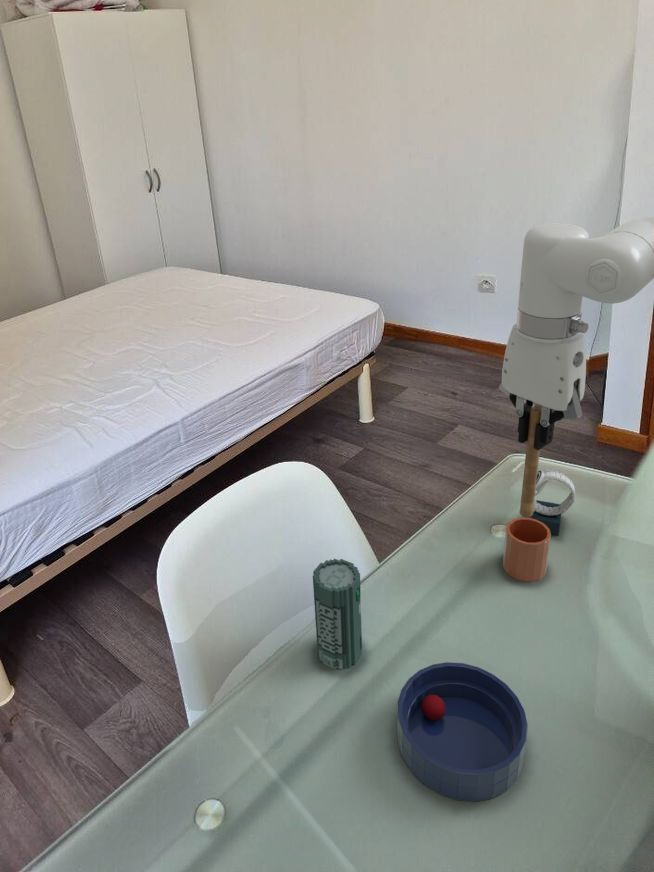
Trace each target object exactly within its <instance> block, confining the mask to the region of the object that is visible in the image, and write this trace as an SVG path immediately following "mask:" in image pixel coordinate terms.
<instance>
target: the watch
mask: <svg viewBox="0 0 654 872" xmlns="http://www.w3.org/2000/svg"><path fill="white" fill-rule="evenodd" d="M550 480H554V481H558V482H560V483H562V484H564V485H565V486H567V488H568V489H569V490H570V492H569V494H568V495H567V497H566V498H565V499H564V500H563V501H562V502H560V503H554V502H550V501H545V500H538V499H536V500H535V499H534V506H533V517H532V519H536V520H538V521H540V522H542V523H544V524H545V525H546V526H547V527H548V528H549V529H550V532H551V536H555V537H559V535H560V527H561V519H562V515H563V514H565V513H566V512H567V511H568V510H569V509H570V508H571V507H572V505H573V504H574V502H575V499H576V488H575V484H574V482H573V481H572V479H571V478H570V477H569V476H567V475H566V474H565V473H563V472H561V471H558V470H553V469H552V470H551V469H544V470H541V469H540V470H538V471H537V480H536V488H535V497H537V495H539V494H540V493H541V492H542V491H543V489H544V488H545V486H546V484H547V483H549V481H550Z"/></svg>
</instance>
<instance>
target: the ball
mask: <svg viewBox="0 0 654 872" xmlns="http://www.w3.org/2000/svg"><path fill="white" fill-rule="evenodd" d="M421 707H422V712H423V714H424V715H425V716H426V717H427V718H428V719H430V720H434V721H435V720H439V719H441V718H442V717H443V715H444V713H445V704H444V702H443V700H442V699H441V698H440V697H439V696H437V695H428V696H426V697H425V698H424V699H423V701H422V705H421Z"/></svg>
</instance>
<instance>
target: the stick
mask: <svg viewBox="0 0 654 872" xmlns="http://www.w3.org/2000/svg"><path fill="white" fill-rule="evenodd" d="M541 410H542V405H540V404H535V405H533V406H531V409H530V419H529V428H528V438H527V441H526V448H525V449H526V450H525V458H524V467H523V476H522V477H523V478H522V486H521V497H520V507H519V515H520V516H522V518H531V517H532V516H534V510H533V506H534V500H535V497H536V496H535V488H536V480H537V472H538V471H539V462H540V454H541V453H540V452H541V449H540V450H536V449H534V447H533V446H534V437H535V428H536V425H537V424H538V423H540V418H541Z"/></svg>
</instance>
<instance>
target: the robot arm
mask: <svg viewBox="0 0 654 872" xmlns="http://www.w3.org/2000/svg"><path fill="white" fill-rule="evenodd" d="M522 246H523V248H522V259H521V268H520V279H519V280H520V281H519V291H518V292H519V293H518V302H517V312H516V313H517V314H516V323H514V324H513V325H512V328H511V330H510V333H509V336H508V339H507V343H506V346H505V351H504V357H503V363H502V369H501V382H500V383H499V386H498V389H499V391H500V392H501V393H502V394H503V395H505V396H506V397H507V398H509V401H510V402H511V404H512V405H513V406H514V408H515V415H516V416H517V417H518V423H517V433H518V438H517V442H519V443H520V444H524V443H527V438H528V428H529V419H530V409H531V406H533V405H540V406H542V410H541V418H540V423H538V424H537V425H536V428H535V437H534V446H533V447H534V449H536V450H540V451H541V450H542V449H544V447H546V446H548V445H550V444H551V443H552V442H553V438H554V431H555V424H556V423H557V422H558V421H561V420H567V421H568V420H571V421H574V420H578V419H579V418H581V417H582V416H583V411H582V405H581V401H583V400H584V395H585V391H586V390H585V389H586V377H587V348H586V342H585V335H584V334H586V333H587V332H588V330H589V323H588V322H584V321H583V320H582V314H583V313H582V304H583V298H586V299H588V300H592V301H595V302H598V303H602V304H614V305H615V304H620V303H621V304H622V303H624V302H626V301H629V300H630V299H633V298H634V297H635V296H636V295H638V294H639V293H640V292H641V291H642V290H643V289H644V288H645V287H646V286H647V285H648V284H649V283H650V282H652V281H653V280H654V216H651V217H644V218H639V219H634V220H631V221H627V222H625V223H622V224H620V225H618V226H617V227H615V228H613V229H612V230H610V231H609V232H607V233H605V234H604V235H601V236H598V237H593V238H590V235H589V232H588V231H587V230H586V229H585V228H583V227H582V226H579V225H577V224H573V223H567V222H546V223H540V224H537V225H534V226H532V227H531V228H529V229H528V230H527V232H526V233H525V235H524V239H523V245H522Z"/></svg>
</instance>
